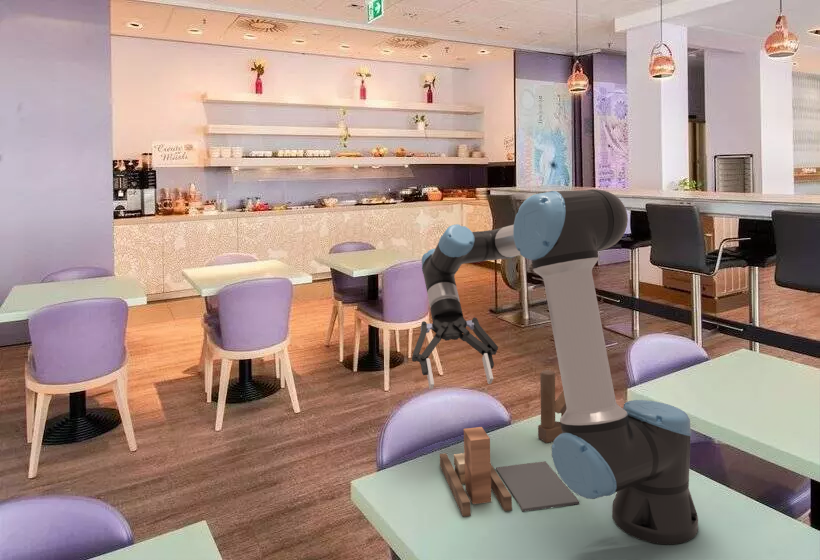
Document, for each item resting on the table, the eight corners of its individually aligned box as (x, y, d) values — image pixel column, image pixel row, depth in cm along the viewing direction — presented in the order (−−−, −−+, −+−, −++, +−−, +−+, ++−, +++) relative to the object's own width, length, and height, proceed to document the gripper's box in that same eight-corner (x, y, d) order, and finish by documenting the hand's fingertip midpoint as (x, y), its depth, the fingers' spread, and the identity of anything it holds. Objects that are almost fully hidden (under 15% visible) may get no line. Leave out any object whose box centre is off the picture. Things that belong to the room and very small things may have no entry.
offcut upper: (482, 472, 130) (482, 461, 130) (459, 475, 129) (459, 464, 129) (476, 461, 135) (475, 451, 135) (454, 464, 134) (453, 454, 134)
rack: (512, 510, 119) (511, 496, 118) (462, 516, 117) (462, 502, 117) (481, 460, 140) (481, 449, 140) (440, 465, 139) (439, 453, 138)
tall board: (491, 501, 122) (489, 438, 120) (472, 504, 121) (470, 440, 119) (483, 487, 128) (481, 426, 126) (465, 489, 127) (463, 428, 125)
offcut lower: (483, 482, 131) (483, 472, 130) (460, 485, 130) (460, 475, 129) (477, 471, 135) (476, 461, 135) (455, 474, 135) (454, 464, 134)
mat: (579, 504, 120) (579, 501, 120) (522, 511, 118) (522, 508, 118) (545, 463, 137) (545, 461, 137) (495, 469, 135) (495, 467, 135)
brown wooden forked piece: (580, 435, 152) (581, 368, 149) (546, 443, 148) (545, 375, 145) (571, 429, 155) (571, 364, 152) (537, 438, 151) (536, 371, 148)
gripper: (491, 309, 149) (511, 386, 137) (393, 317, 145) (405, 396, 133) (497, 293, 143) (518, 371, 131) (395, 300, 139) (408, 381, 127)
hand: (461, 384), depth 132 cm, fingers open, 13 cm apart
